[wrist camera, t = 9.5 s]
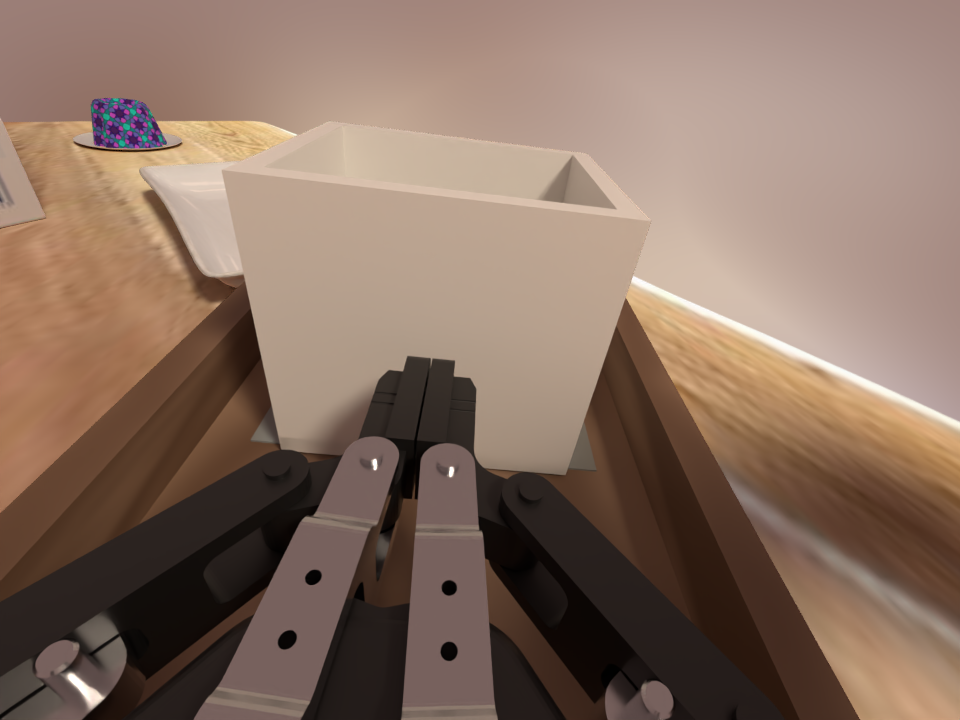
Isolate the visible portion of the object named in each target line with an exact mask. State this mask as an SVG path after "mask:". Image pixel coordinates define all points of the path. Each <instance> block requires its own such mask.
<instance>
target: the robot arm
mask: <svg viewBox="0 0 960 720" xmlns="http://www.w3.org/2000/svg"><path fill="white" fill-rule="evenodd" d="M454 369H455V360H446V359H436V358H433V359H432V363H431V358H425V357H415V356H407V359H406V362H405V366H404V370H403V371H394V370H388V371H387V372H386V373H385V374H384V375H383V376H382V377H381V378H380V379H379V380H378V382H377V385H376V388H375V391H374V394H373V397H372V400H371V403H370V406H369V409H368V412H367V415H366V418H365V421H364V423H363V426H362V429H361V432H360V435H359V438H358V440H356V441H355V442H353V443H352V444H351V445H349V446H348V447H347V449H346V450H345V452H344V454H343V455H340V456H338V457H335V458H332V459H328V460H322V461H316V462H310V463H308V460H307V458H306V457H305V456H304V455H303V454H301V453H299V452H297V451H294V450H276V451H272V452H269V453H267V454H265V455H263V456H261V457H259V458H257V459H255V460H254V461H252V462H250V463H248V464H246V465H245V466H243V467H241V468H239V469H237V470H236V471H234V472H232V473H230V474H228V475H227V476H225V477H223V478H221V479H219V480H218V481H216V482H214V483H212V484H211V485H209V486H207V487H205V488H203V489H202V490H200V491H198V492H196V493H194V494H193V495H191V496H189V497H187V498H185V499H184V500H182V501H180V502H178V503H176V504H175V505H173V506H171V507H169V508H168V509H166V510H164V511H162V512H160V513H159V514H157V515H155V516H153V517H151V518H150V519H148V520H146V521H144V522H142V523H141V524H139V525H137V526H135V527H133V528H132V529H130V530H128V531H126V532H125V533H123V534H121V535H119V536H117V537H116V538H114V539H112V540H110V541H108V542H107V543H105V544H103V545H101V546H99V547H98V548H96V549H94V550H92V551H90V552H89V553H87V554H85V555H83V556H82V557H80V558H78V559H76V560H74V561H73V562H71V563H69V564H67V565H65V566H64V567H62V568H60V569H58V570H56V571H55V572H53V573H51V574H49V575H47V576H46V577H44V578H42V579H40V580H39V581H37V582H35V583H33V584H31V585H30V586H28V587H26V588H24V589H22V590H21V591H19V592H17V593H15V594H13V595H12V596H10V597H8V598H6V599H4V600H3V601H1V602H0V720H567V719H566V718H565V716H564V715H563V713H562V712H561V710H560V709H559V707H558V706H557V704H556V703H555V701H554V700H553V698H552V697H551V695H550V694H549V692H548V691H547V689H546V688H545V686H544V685H543V683H542V682H541V680H540V679H539V677H538V676H537V674H536V673H535V671H534V670H533V668H532V667H531V665H530V664H529V662H528V661H527V659H526V658H525V656H524V655H523V653H522V652H521V650H520V649H519V648H518V647H517V645H516V644H515V643H514V642H513V641H512V640H511V639H510V638H509V637H508V636H507V635H506V634H505V633H504V632H503V631H501V630H500V629H499V628H497V627H496V626H494V625H493V624H491V623H489V615H488V600H487V585H486V570H485V559H487V560H489V564H490V566H491V568H492V570H493V571H494V572H495V574H496V575H497V576H498V578H499V579H500V580H501V582H502V583H503V584H504V586H505V587H506V588H507V590H508V591H509V592H510V593H511V595H512V596H513V597H514V599H515V600H516V601H517V603H518V604H519V605H520V607H521V608H522V609H523V611H524V612H525V613H526V615H527V616H528V617H529V619H530V620H531V621H532V622H533V624H534V625H535V626H536V628H537V629H538V630H539V632H540V633H541V634H542V636H543V637H544V638H545V640H546V641H547V642H548V644H549V645H550V646H551V648H552V649H553V650H554V651H555V653H556V654H557V655H558V657H559V658H560V659H561V661H562V662H563V663H564V665H565V666H566V667H567V669H568V670H569V671H570V673H571V674H572V675H573V677H574V678H575V679H576V680H577V682H578V683H579V684H580V686H581V687H582V688H583V690H584V691H585V692H586V694H587V695H588V696H589V698H590V699H591V700H592V702H593V703H594V704H595V705H594V707H593V710H592V713H591V720H785V719H784V717H783V716H782V714H781V713H780V711H779V710H778V709H777V707H776V706H775V705H774V704H773V703H772V702H771V701H770V699H769V698H768V697H767V696H766V695H765V694H764V693H763V692H762V691H761V690H760V689H759V688H758V687H757V686H756V685H755V684H754V683H752V682H751V681H750V680H749V679H748V678H747V677H746V676H745V675H744V674H743V673H742V672H741V671H740V670H739V669H738V668H737V667H736V666H735V665H734V664H733V663H732V662H731V661H730V660H729V659H728V658H727V657H726V656H725V655H724V654H723V653H722V652H721V651H720V650H719V649H718V648H717V647H716V646H715V645H714V644H713V643H712V642H711V641H710V640H709V639H708V638H707V637H706V636H705V635H704V634H703V633H702V632H701V631H700V630H699V629H698V628H697V627H696V626H695V625H694V624H693V623H692V622H691V621H690V620H689V619H688V618H687V617H686V616H685V615H684V614H683V613H682V612H681V611H680V610H679V609H678V608H677V607H676V606H675V605H674V604H673V603H672V602H671V601H670V600H669V599H668V598H667V597H666V596H665V595H664V594H663V593H662V592H661V591H660V590H658V589H657V588H656V587H655V586H654V585H653V584H652V583H651V582H650V581H649V580H648V579H647V578H646V577H645V576H644V575H643V574H642V573H641V572H640V571H639V570H638V569H637V568H636V567H635V566H634V565H633V564H632V563H631V562H630V561H629V560H628V559H627V558H626V557H625V556H624V555H623V554H622V553H621V552H620V551H619V550H618V549H617V548H616V547H615V546H614V545H613V544H612V543H611V542H610V541H609V540H608V539H607V538H606V537H605V536H604V535H603V534H602V533H601V532H600V531H599V530H598V529H597V528H596V527H595V526H594V525H593V524H592V523H591V522H590V521H589V520H588V519H587V518H586V517H585V516H584V515H583V514H582V513H581V512H580V511H579V510H578V509H577V508H576V507H575V506H574V505H573V504H572V503H571V502H570V501H569V500H568V499H567V498H565V497H564V496H563V495H562V494H561V493H560V492H559V491H558V490H557V489H556V488H555V487H554V486H553V485H552V484H551V483H550V482H549V481H548V480H547V479H545V478H544V477H542V476H540V475H537V474H534V473H529V472H522V473H517V474H514V475H512V476H510V477H509V478H508V479H506V478H503V477H500V476H498V475H495V474H493V473H491V472H489V471H487V470H486V469H485V468H483V467H482V466H481V465H480V463H479V462H478V461H477V459H476V457H475V453H474V438H475V412H476V390H477V389H476V387H475V386H474V384H473V382H472V380H471V378H465V377H455V376H454ZM414 485H415V499H417V500H418V506H417V520H416V530H415V542H414V555H413V569H412V583H411V597H410V603H406V604H401V605H396V606H391V607H377V605H378V597H379V592H380V588H381V584H382V580H383V577H384V573H385V570H386V566H387V563H388V559H389V556H390V552H391V548H392V545H393V541H394V538H395V534H396V531H397V527H398V523H399V516H400V513H401V509H402V504H403V498H404V499H412V497H413V491H414ZM266 587H268V588H267V590H266V592H265V594H264V596H263V598H262V600H261V602H260V604H259V606H258V608H257V610H256V612H255V614H254V615H252V616H250V617H248V618H246V619H244V620H243V621H241V622H240V623H238V624H237V625H235V626H234V627H233V628H231V629H230V630H229V631H227V632H226V633H225V634H224V635H222V636H221V637H220V638H219V639H218V640H216V641H215V642H214V643H213V644H212V645H210V646H209V647H208V648H207V649H206V650H205V651H203V652H202V653H201V654H200V655H199V656H197V657H196V658H195V659H194V660H193V661H191V662H190V663H189V664H188V665H187V666H185V667H184V668H183V669H182V670H181V671H179V672H178V673H177V674H176V675H175V676H173V677H172V678H171V679H170V680H169V681H167V682H166V683H165V684H164V685H163V686H161V687H160V688H159V689H158V690H157V691H155V692H154V693H153V694H152V695H151V696H149V697H148V698H147V699H146V700H145V701H143V702H142V703H141V704H140V705H139V706H137V704H138V702H139V701H140V699H141V696H142V694H143V691H144V687H145V681H146V680H148V679H149V678H150V677H151V676H153V675H154V674H155V673H157V672H158V671H159V670H160V669H162V668H163V667H164V666H166V665H167V664H168V663H170V662H171V661H172V660H173V659H175V658H176V657H177V656H179V655H180V654H181V653H182V652H184V651H185V650H186V649H188V648H189V647H190V646H191V645H193V644H194V643H195V642H197V641H198V640H199V639H201V638H202V637H203V636H204V635H206V634H207V633H208V632H210V631H211V630H212V629H213V628H215V627H216V626H217V625H219V624H220V623H221V622H223V621H224V620H225V619H226V618H228V617H229V616H230V615H232V614H233V613H234V612H235V611H237V610H238V609H239V608H241V607H242V606H243V605H245V604H246V603H247V602H248V601H250V600H251V599H252V598H254V597H255V596H256V595H257V594H259V593H260V592H261V591H263V590H264V589H265V588H266ZM136 706H137V707H136ZM135 707H136V708H135Z"/></svg>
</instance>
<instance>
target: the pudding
mask: <svg viewBox="0 0 960 720" xmlns="http://www.w3.org/2000/svg"><path fill="white" fill-rule="evenodd" d="M91 114H92V126H93V132H90V133H84V134H80V135H77V136H75V137H74V138H73V140H74V141H75V142H77V143H79V144H82V145H86V146H90V147H96V148H103V149H112V150H151V149H160V148H166V147H171V146H174V145H177V144H179V143H181V142H182V139H181V138H179V137H177V136H174V135H170V134H165V133H162V132H161V130H160V128H159V127H158V125H157V123H156V121H155V119H154V117H153V116H152V113H151V112H150V110H149V108H148V107H147V106H146V104H144V103H143V102H140V101H137V100H128V99H120V98H118V99H114V98H104V99H94V100H93V101H92V104H91ZM93 141H94V144H93ZM167 143H168V145H166V144H167ZM162 145H166V146H164V147H163V146H162ZM99 146H104V147H99Z"/></svg>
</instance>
